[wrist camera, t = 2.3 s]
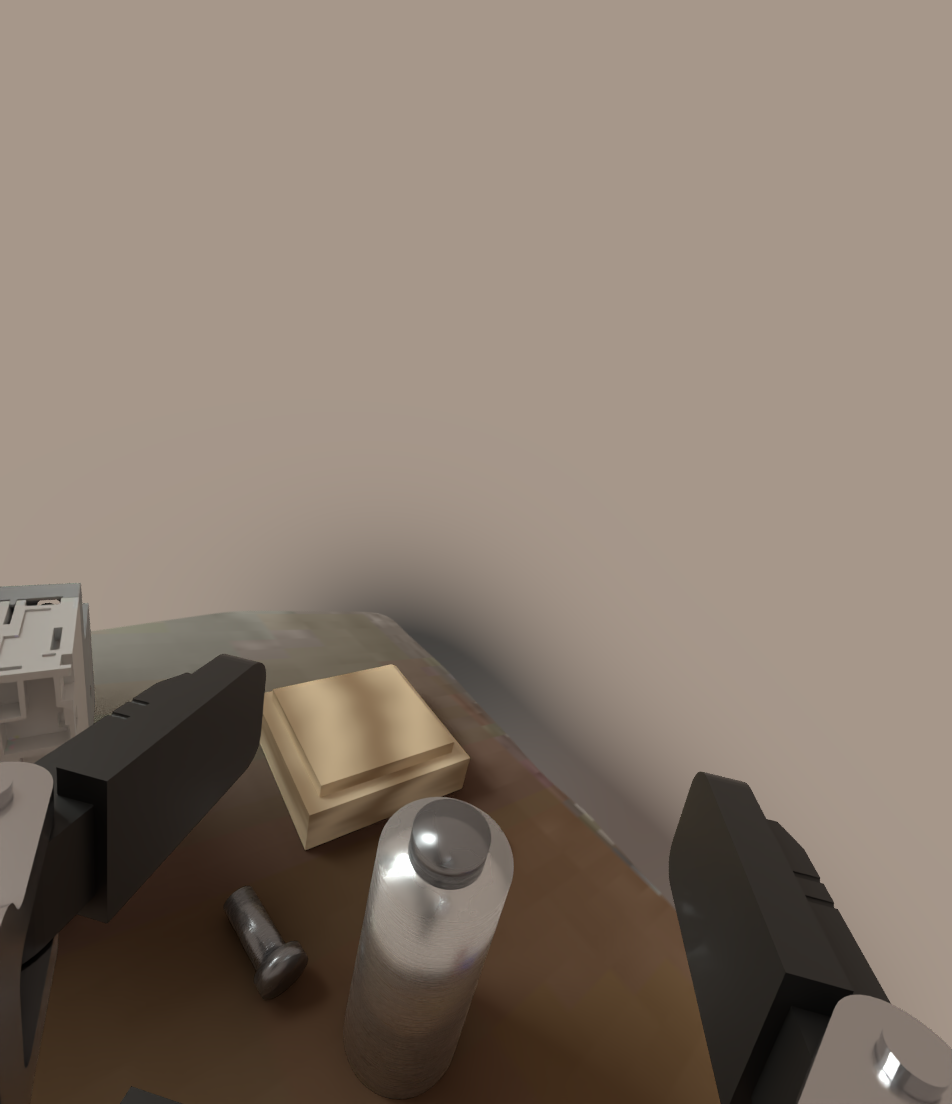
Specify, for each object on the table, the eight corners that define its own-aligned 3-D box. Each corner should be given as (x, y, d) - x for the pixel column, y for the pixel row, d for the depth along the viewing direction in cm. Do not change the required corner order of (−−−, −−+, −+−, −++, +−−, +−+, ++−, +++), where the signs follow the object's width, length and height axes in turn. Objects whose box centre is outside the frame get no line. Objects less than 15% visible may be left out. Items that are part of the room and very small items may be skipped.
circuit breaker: (98, 726, 39) (86, 536, 34) (90, 907, 29) (70, 671, 23) (-42, 749, 35) (-82, 538, 30) (-113, 969, 25) (-198, 702, 19)
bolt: (305, 975, 28) (310, 944, 27) (259, 1009, 26) (262, 978, 25) (259, 895, 31) (261, 866, 30) (215, 921, 29) (216, 891, 28)
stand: (305, 850, 34) (310, 803, 32) (252, 726, 42) (255, 684, 41) (462, 788, 41) (472, 747, 40) (390, 692, 50) (396, 655, 48)
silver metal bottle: (374, 1131, 23) (427, 928, 18) (325, 998, 27) (358, 802, 22) (479, 1050, 26) (548, 860, 21) (422, 943, 30) (469, 762, 25)
